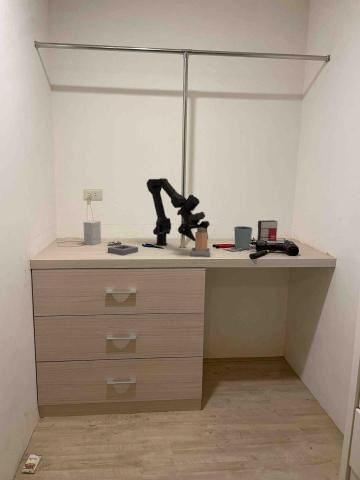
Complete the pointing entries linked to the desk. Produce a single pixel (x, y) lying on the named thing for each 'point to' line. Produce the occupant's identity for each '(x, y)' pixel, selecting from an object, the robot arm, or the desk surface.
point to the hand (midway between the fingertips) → (201, 239)
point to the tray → (200, 253)
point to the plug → (201, 240)
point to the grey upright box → (267, 230)
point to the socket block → (122, 249)
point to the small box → (92, 232)
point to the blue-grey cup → (243, 237)
